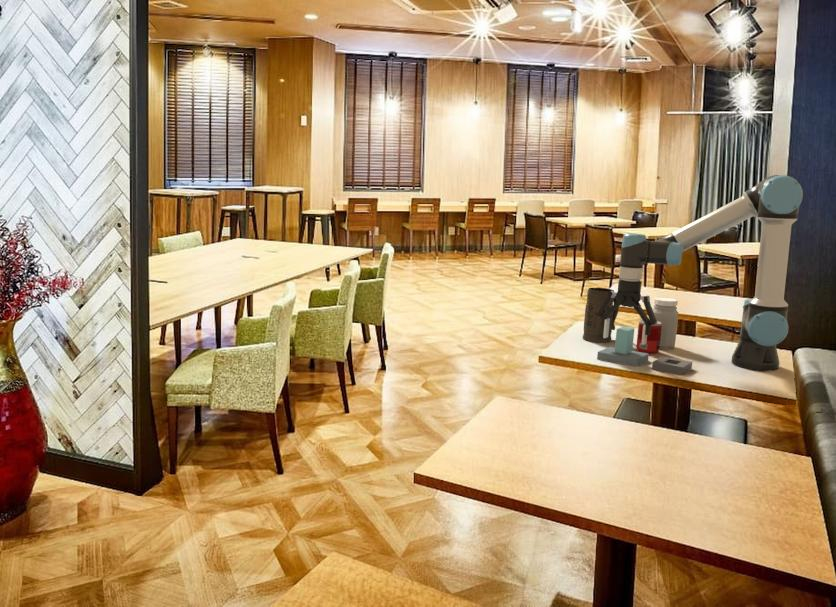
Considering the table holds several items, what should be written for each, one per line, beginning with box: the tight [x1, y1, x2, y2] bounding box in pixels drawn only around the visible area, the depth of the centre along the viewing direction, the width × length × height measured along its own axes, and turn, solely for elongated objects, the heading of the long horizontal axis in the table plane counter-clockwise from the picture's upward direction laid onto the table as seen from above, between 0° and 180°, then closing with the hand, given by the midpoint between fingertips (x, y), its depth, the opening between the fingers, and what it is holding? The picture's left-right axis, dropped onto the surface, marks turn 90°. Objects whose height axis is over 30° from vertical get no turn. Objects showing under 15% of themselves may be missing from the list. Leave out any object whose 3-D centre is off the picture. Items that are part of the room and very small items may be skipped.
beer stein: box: [582, 287, 620, 344], centre depth 299 cm, size 15×11×20 cm
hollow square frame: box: [651, 356, 693, 375], centre depth 260 cm, size 10×10×2 cm
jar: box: [652, 296, 679, 350], centre depth 291 cm, size 10×10×18 cm
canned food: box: [635, 319, 662, 355], centre depth 283 cm, size 8×8×11 cm
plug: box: [614, 326, 635, 355], centre depth 268 cm, size 4×6×11 cm, turn 144°
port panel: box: [596, 346, 650, 367], centre depth 269 cm, size 14×11×2 cm
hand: (624, 340), depth 268 cm, fingers open, 13 cm apart
